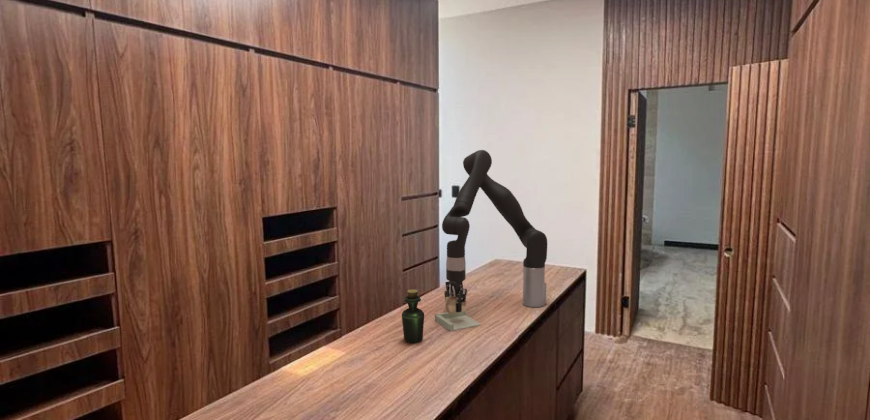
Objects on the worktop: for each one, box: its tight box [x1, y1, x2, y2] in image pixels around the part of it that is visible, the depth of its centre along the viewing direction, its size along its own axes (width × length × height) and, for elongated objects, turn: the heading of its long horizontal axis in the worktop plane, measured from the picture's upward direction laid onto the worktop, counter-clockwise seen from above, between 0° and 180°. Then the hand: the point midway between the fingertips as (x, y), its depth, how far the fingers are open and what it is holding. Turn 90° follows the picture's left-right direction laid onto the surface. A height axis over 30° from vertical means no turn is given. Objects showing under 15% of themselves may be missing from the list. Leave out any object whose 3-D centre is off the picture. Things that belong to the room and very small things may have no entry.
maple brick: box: [445, 296, 467, 314], centre depth 179 cm, size 4×7×6 cm, turn 116°
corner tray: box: [434, 310, 482, 332], centre depth 180 cm, size 14×13×2 cm
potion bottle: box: [401, 289, 425, 344], centre depth 162 cm, size 8×8×18 cm
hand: (455, 310), depth 180 cm, fingers closed on maple brick, 4 cm apart
